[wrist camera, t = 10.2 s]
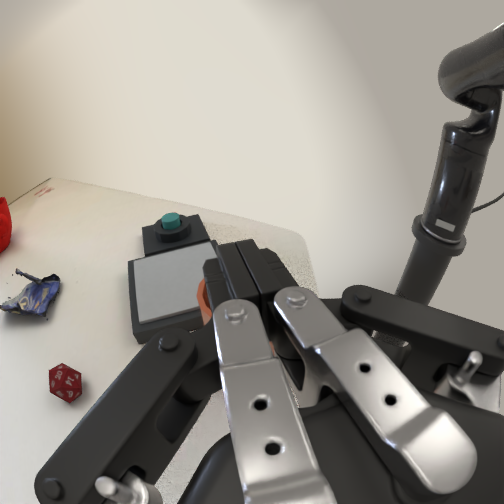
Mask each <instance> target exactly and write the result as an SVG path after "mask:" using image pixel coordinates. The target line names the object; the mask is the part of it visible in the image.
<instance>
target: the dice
mask: <svg viewBox="0 0 504 504" xmlns="http://www.w3.org/2000/svg"><path fill="white" fill-rule="evenodd" d="M49 385H50V393H52V394H54V395H56V396H57V397H59V398H61V399H63V400H65V401H67V402H69V403H71V402H72V401H73V400H75V399H76V398H77V397H78V396H80V395H81V394H82V386H81V373H80V372H78V371H76V370H74V369H72V368H70V367H68V366H67V365H65V364H63V363H61V364H60V365H58V366H56V367H54V368H52V369H51V370H49Z"/></svg>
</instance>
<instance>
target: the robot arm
mask: <svg viewBox="0 0 504 504" xmlns="http://www.w3.org/2000/svg"><path fill="white" fill-rule="evenodd" d="M438 82H439V86H440V88H441V90H442V92H443V94H444V95H445V96H446V97H447V98H449V99H450V100H451V101H453V102H455V103H457V104H460V105H462V106H465V107H467V108H470V109H472V110H471V114H470V116H469V117H468V118H467V119H465V120H462V121H455V122H446V123H445V124H444V126H443V130H442V137H441V142H440V147H439V153H438V158H437V162H436V167H435V171H434V175H433V179H432V183H431V188H430V191H429V195H428V198H427V202H426V205H425V208H424V212H423V215H422V217H421V220H420V225H421V227H422V229H423V230H424V231H425V232H426V233H427V234H428V235H429V236H431V237H432V238H434V239H436V240H438V241H440V242H442V243H445V244H450V245H456V244H459V243H460V242H461V240H462V237H463V233H464V231H465V228H466V226H467V223H468V220H469V218H470V215H471V213H473V212H475V211H478V210H481V209H483V208H485V207H487V206H489V205H491V204H493V203H495V202H497V201H498V200H500V199H501V198H502V197H503V196H504V193H503V194H502V195H500V196H499V197H498V198H496V199H494V200H493V201H491V202H489V203H486V204H484V205H481V206H479V207H476V208H473V206H474V203H475V200H476V197H477V194H478V190H479V187H480V184H481V180H482V176H483V173H484V169H485V164H486V160H487V156H488V152H489V149H490V146H491V145H492V143H493V141H494V138H495V133H496V129H497V124H498V119H499V114H500V109H501V103H502V91H504V23H502V24H501V25H500V26H498V27H497V28H495V29H494V30H492V31H490V32H489V33H487V34H485V35H484V36H482V37H480V38H479V39H477V40H475V41H474V42H471V43H469V44H467V45H464V46H462V47H460V48H457V49H455V50H453V51H451V52H449V53H448V54H447V55H446V56H445V57H444V59H443V60H442V62H441V64H440V67H439V71H438ZM216 252H217V258H212V259H206V260H205V263H204V265H203V267H202V269H203V274H204V280H205V285H206V290H207V296H208V300H209V304H210V308H211V313H212V316H211V318H210V320H209V321H208V323H207V324H206V325H204V326H203V327H202V328H200V329H198V330H196V331H194V332H192V333H190V332H189V331H187V330H185V329H183V328H178V327H171V328H166V329H163V330H161V331H159V332H157V333H156V334H155V335H154V336H153V337H152V338H151V339H150V340H149V341H148V342H147V343H146V344H145V346H144V347H143V348H142V349H141V350H140V351H139V353H138V354H137V355H136V356H135V357H134V358H133V359H132V361H131V362H130V363H129V364H128V365H127V366H126V368H125V369H124V370H123V371H122V372H121V373H120V375H119V376H118V377H117V378H116V379H115V380H114V382H113V383H112V384H111V385H110V386H109V387H108V389H107V390H106V391H105V392H104V393H103V394H102V396H101V397H100V398H99V399H98V400H97V402H96V403H95V404H94V405H93V406H92V407H91V409H90V410H89V411H88V412H87V413H86V415H85V416H84V417H83V418H82V419H81V421H80V422H79V423H78V424H77V425H76V427H75V428H74V429H73V430H72V431H71V433H70V434H69V435H68V436H67V438H66V439H65V440H64V441H63V442H62V444H61V445H60V446H59V447H58V449H57V450H56V451H55V452H54V454H53V455H52V456H51V457H50V458H49V460H48V461H47V462H46V463H45V465H44V466H43V467H42V468H41V470H40V471H39V472H38V474H37V476H36V478H35V482H34V489H35V494H36V496H37V499H38V501H39V502H40V504H163V500H162V496H161V494H160V492H159V491H158V489H157V488H156V487H155V486H154V485H155V484H156V482H157V481H158V479H159V478H160V476H161V475H162V473H163V472H164V470H165V469H166V467H167V466H168V464H169V463H170V461H171V460H172V458H173V457H174V455H175V454H176V452H177V451H178V449H179V447H180V446H181V444H182V443H183V441H184V440H185V438H186V437H187V435H188V433H189V432H190V430H191V429H192V427H193V426H194V424H195V422H196V421H197V419H198V418H199V416H200V414H201V413H202V411H203V410H204V408H205V406H206V405H207V403H208V401H209V399H210V397H211V395H212V394H213V393H215V392H217V391H219V390H221V389H223V394H224V400H225V406H226V411H227V417H228V422H229V427H230V433H228V434H227V435H225V436H224V437H222V438H221V439H220V440H218V441H217V442H216V443H215V444H214V445H213V446H212V447H211V448H210V449H209V450H208V452H207V453H206V454H205V456H204V457H203V459H202V460H201V462H200V464H199V466H198V468H197V470H196V471H195V473H194V475H193V477H192V479H191V480H190V482H189V484H188V486H187V487H186V489H185V491H184V493H183V494H182V496H181V498H180V499H179V501H178V503H177V504H504V416H503V415H501V414H499V407H500V393H501V374H502V372H503V371H504V331H503V330H500V329H497V328H494V327H491V326H488V325H485V324H482V323H479V322H475V321H473V320H469V319H466V318H463V317H460V316H457V315H454V314H451V313H448V312H445V311H442V310H439V309H436V308H433V307H430V306H427V305H424V304H421V303H418V302H415V301H411V300H408V299H405V298H402V297H399V296H396V295H393V294H390V293H387V292H384V291H381V290H378V289H374V288H371V287H368V286H364V285H354V286H350V287H348V288H346V289H345V290H344V292H343V294H342V298H339V299H320V298H318V297H317V296H316V294H315V293H314V292H312V291H311V290H309V289H307V288H304V287H299V285H298V284H297V282H296V281H295V280H294V278H293V277H292V275H291V274H290V273H289V271H288V270H287V268H285V265H284V264H283V263H282V262H281V260H280V258H279V257H278V256H277V254H276V253H275V252H273V251H271V250H269V249H268V248H265V249H259V248H258V247H257V245H256V244H255V242H254V240H253V239H248V240H243V241H237V242H235V243H234V242H232V243H226V244H221V245H216ZM373 330H375V331H378V332H381V333H384V334H387V335H389V336H392V337H395V338H398V339H401V340H404V341H406V342H408V343H409V344H408V345H407V346H404V347H399V346H396V345H393V344H390V343H387V342H384V341H381V340H379V339H376V338H373V337H371V336H372V334H373ZM269 342H272V344H273V346H274V355H273V352H272V349H271V346H270V343H269ZM289 384H290V385H289ZM290 386H291V388H292V390H293V391H294V393H295V395H296V397H297V399H298V402H299V407H300V408H298V407H297V405H296V402H295V399H294V396H293V393H292V391H291V388H290Z"/></svg>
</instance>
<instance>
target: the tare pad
mask: <svg viewBox="0 0 504 504" xmlns="http://www.w3.org/2000/svg"><path fill="white" fill-rule="evenodd" d="M179 218H180V223H181V224H180V226H179V227H177V228H176V229H172V230H166V229H164V228H163V224H162V220H161V219H162V218H161V219H160V220H158V221H157V222H156V223H155V224H154V225H150V226H146V227H142V233H143V244H144V253H145V257H147V256H151V255H155V254H159V253H163V252H167V251H171V250H175V249H179V248H183V247H187V246H191V245H195V244H199V243H203V242H207V241H210V238H209V236H208V234H207V232H206V229H205V227H204V225H203V223H202V221H201V219H200V217H199V215H198V214H196V215H192V216H188V217H186V216H184V215H179Z"/></svg>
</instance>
